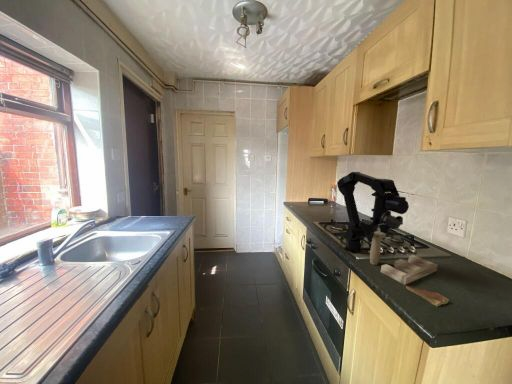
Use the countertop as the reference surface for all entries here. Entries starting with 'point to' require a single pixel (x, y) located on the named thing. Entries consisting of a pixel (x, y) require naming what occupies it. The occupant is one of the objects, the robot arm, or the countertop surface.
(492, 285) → the countertop surface
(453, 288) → the countertop surface
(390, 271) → the notched rail
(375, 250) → the handle
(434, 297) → the shard
